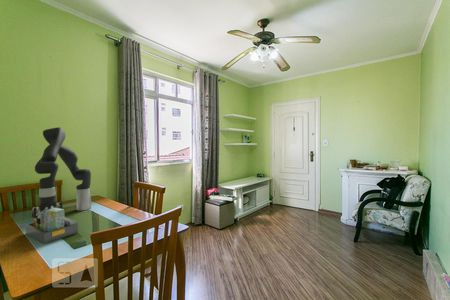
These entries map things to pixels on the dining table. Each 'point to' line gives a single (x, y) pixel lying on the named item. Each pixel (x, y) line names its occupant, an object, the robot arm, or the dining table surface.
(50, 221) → the snack box
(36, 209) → the robot arm
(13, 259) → the dining table surface
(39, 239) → the drawer
